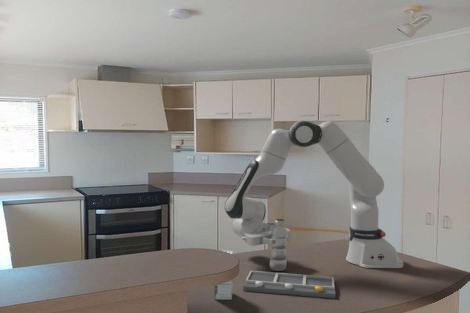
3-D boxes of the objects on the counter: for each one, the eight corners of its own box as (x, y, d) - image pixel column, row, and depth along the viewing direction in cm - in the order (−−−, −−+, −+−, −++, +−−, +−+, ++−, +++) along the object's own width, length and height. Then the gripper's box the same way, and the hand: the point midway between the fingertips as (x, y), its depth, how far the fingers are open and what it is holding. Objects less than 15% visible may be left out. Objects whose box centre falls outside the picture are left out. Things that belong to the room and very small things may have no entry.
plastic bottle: (267, 267, 156) (269, 218, 154) (284, 266, 157) (286, 217, 155) (271, 273, 150) (273, 222, 148) (288, 273, 151) (290, 222, 149)
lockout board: (333, 282, 141) (333, 275, 141) (335, 298, 127) (335, 290, 127) (250, 276, 147) (250, 269, 147) (243, 290, 133) (243, 282, 133)
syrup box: (215, 292, 132) (215, 250, 131) (233, 293, 131) (233, 250, 131) (214, 299, 126) (214, 255, 125) (232, 300, 126) (232, 255, 125)
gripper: (238, 229, 157) (258, 236, 146) (277, 222, 168) (300, 229, 157) (238, 244, 158) (258, 253, 146) (277, 237, 169) (299, 244, 157)
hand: (280, 240), depth 151 cm, fingers open, 6 cm apart
